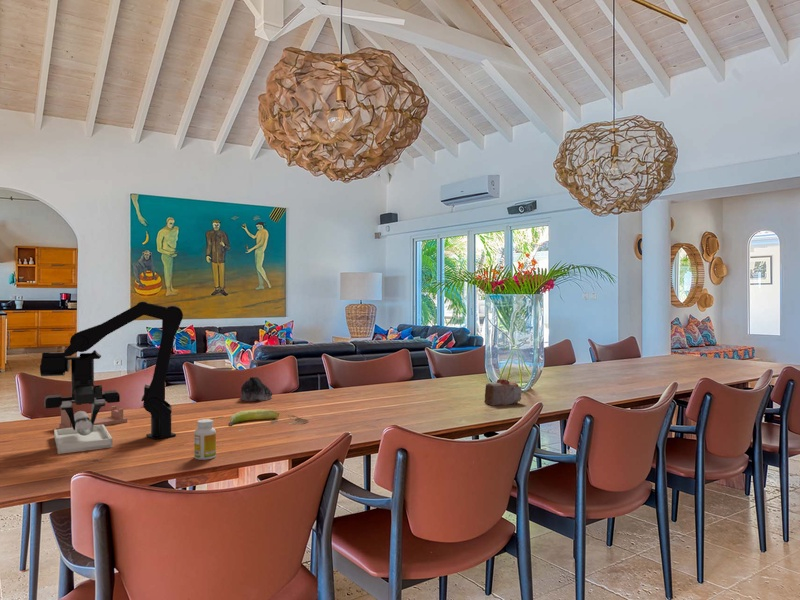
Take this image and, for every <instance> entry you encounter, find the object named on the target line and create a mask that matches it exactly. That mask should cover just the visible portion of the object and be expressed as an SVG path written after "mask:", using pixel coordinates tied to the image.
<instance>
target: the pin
mask: <svg viewBox="0 0 800 600" xmlns="http://www.w3.org/2000/svg"><path fill="white" fill-rule="evenodd" d="M74 419H75V426H76V429H77V431H78V433H79V434H80V435H83V436H86V435H89V434H90V433H91V432H92V431H93V424H92V422H91V420H90V419H91V418H90V417H89V415H88V413H87V412H86V411H84V410H78V411H77V412H74Z"/></svg>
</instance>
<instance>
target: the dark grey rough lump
mask: <svg viewBox="0 0 800 600" xmlns="http://www.w3.org/2000/svg"><path fill="white" fill-rule="evenodd" d="M240 394H241V399H240V400H241V401H244V402H245V401H246V402H255V401H256V402H257V401H259V402H260V401H267V400H271V399H272V398H273V396H272V395H273V393H272V391H271V389H270V388H269V387H268V386H267V385H266V384H264V383H263V382H262V380H261V379H260V378H259V377H258V376H255V377H254V376H252V377H249V379H246V380H245V382H244V383H243V384H242V386H241V390H240Z"/></svg>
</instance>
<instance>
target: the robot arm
mask: <svg viewBox="0 0 800 600" xmlns="http://www.w3.org/2000/svg"><path fill="white" fill-rule="evenodd" d="M143 316H147V317H150V318H155V319H158V320H159V319H160V320H161V324H162V325H161V337H160V342H159V349H158V352H157V357H156V360H155V361H156V362H155V365H154V370H153V371H154V372H153V375H152V378H151V382H150V383H149V385H148V384H145V385H144V387H143V395H142V396H141V400H140V401H141V402H143V403H142V405H143V408H144V410H145V411H146V412H147V413H149V414H150V415H151V416H150V433H146V437H148V438H151V439H153V440H160V439H165V438H171V437H176V436H177V433H174V432H172V412H173V411H172V408H173V407H172V405H171V404H170V403H169V402H168V401H166V400H165V394H166V393H165V392H166V391H165V388H166V387H165V386H166V378H167V375H168V374H167V373H168V369H169V363H170V360H171V355H172V350H173V346H174V341H175V338H176V334H177V332H178V330H179V328H180V326H181V323H182V320H183V317H184V314H183V310H182V309H181V308H180V307H179V306H177V305H168V306H163V305H158V304H154V303H149V302H147V301H139V302H138V303H137V304H135V305H134V306H132V307H130V308H128V309H126V310H125V311H123V312H121V313H119V314H117V315H115V316H113V317H111V318H109V319H108V320H106V321H104V322H102V323H100V324H97V325H94V326H91V327H88V328H85V329H83V330H80V331H77V332H76V333H74V334H73V335H72V336H71V337H70V339H69V346H68V347H66V348H65V349H64V352H63V351H62V352H60V351H59V352H58V351H57V352H50V351H44V352H42V353H41V361H40V365H39V373H40V376H41V377H57V376H58V377H59V376H60V377H61V376H64V377H65V375H66V373H68V372H71V374H70V375H71V380H70V381H71V384H70V385H71V396H64V397H62V395H61V394H53V395H50V394H49V395H46V396H45V397H44V408H45V409H56V408H60V411H61V410H65V411H66V412H67V414H68V416H69V418H70V421H71V424H72V427H73V429H74V430H75V419H74V414H75V412H74V407H73V404H75V405H77V406H82V405H88V404H89V405H91V413H90V419H91V422H92V424H93V425H94V422H95V419H97V416H98V414H99V412H100V410H101V408H102V407H105V406H106V403H107V404H110V403H119V402H120V401H121V399H120V393H119V392H118V391H117V390H115V389H112V390H103V385H102V384H98V385H97V384H96V385H95V371H94V370H95V360H99V359H100V358H101V359H102V355H101V354H100V353H98V352H97V350H96V349H94V350H92V352H87V351H88V350H90V349H92V347H94V346H95V345H97V344H99V342H101V340H103V339H105V337H106V336H108V335H110V334H112V333H113V332H115V331H117V330H118V329H121V328H122V327H124V326H126V325H127V324H129V323H132V322H133V321H135V320H137V319H140V318H141V317H143ZM78 352H79V356H73V355H74V354H76V353H78ZM70 362H71V364H70ZM70 366H71V367H70ZM70 368H71V369H70ZM105 402H106V403H105Z"/></svg>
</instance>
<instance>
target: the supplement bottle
mask: <svg viewBox="0 0 800 600" xmlns="http://www.w3.org/2000/svg"><path fill="white" fill-rule="evenodd" d="M196 423H197V425H196V426H197V428H196V429H195V430H194V436H193V437H194V448H193V450H194V451H193V452H194V456H193V457H194V459H195V460H199V461H201V460H202V461H207V460H212V459H214V458H215V457H216V455H217V431H216V429H215V428H214V419H212V418H206V419H205V418H203V419H198V420H197V422H196Z"/></svg>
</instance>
